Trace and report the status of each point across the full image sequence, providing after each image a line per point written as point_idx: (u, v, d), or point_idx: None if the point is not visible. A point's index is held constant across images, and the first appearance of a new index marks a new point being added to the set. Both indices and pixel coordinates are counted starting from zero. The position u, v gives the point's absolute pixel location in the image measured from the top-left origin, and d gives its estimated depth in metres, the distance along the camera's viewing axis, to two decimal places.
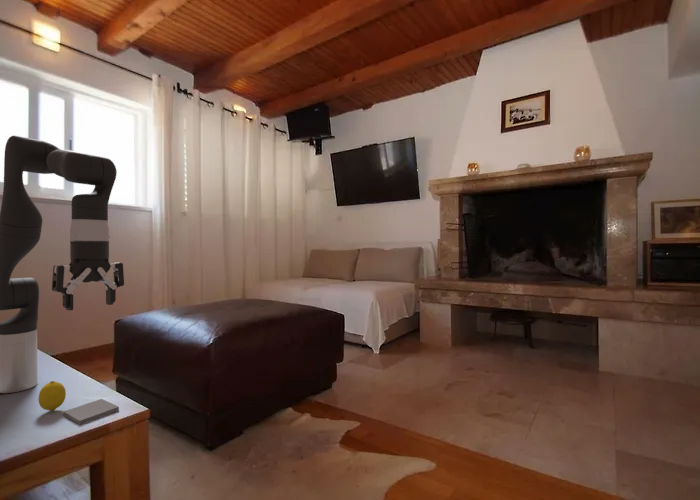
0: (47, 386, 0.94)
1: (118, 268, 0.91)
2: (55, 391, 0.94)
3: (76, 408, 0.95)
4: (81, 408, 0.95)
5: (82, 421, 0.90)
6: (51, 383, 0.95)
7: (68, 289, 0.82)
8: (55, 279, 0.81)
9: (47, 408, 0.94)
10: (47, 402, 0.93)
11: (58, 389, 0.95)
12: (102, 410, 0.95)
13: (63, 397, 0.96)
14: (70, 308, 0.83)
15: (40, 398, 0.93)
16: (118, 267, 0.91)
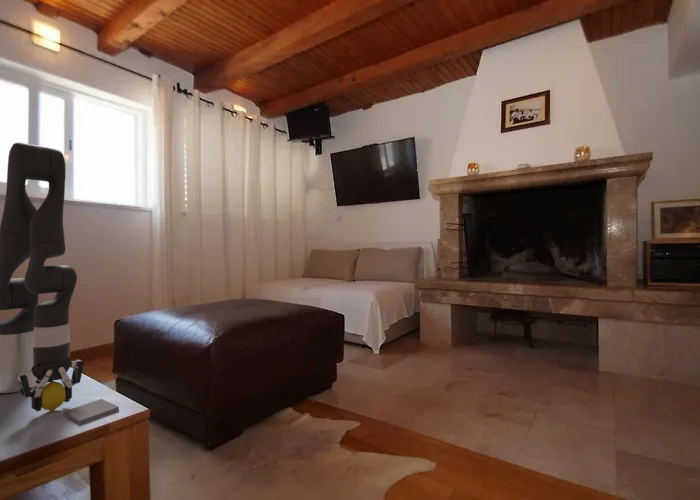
0: (47, 386, 0.94)
1: (78, 366, 1.00)
2: (55, 391, 0.94)
3: (76, 408, 0.95)
4: (81, 408, 0.95)
5: (82, 421, 0.90)
6: (51, 383, 0.95)
7: (36, 393, 0.92)
8: (21, 387, 0.90)
9: (47, 408, 0.94)
10: (47, 402, 0.93)
11: (58, 389, 0.95)
12: (102, 410, 0.95)
13: (63, 397, 0.96)
14: (38, 409, 0.92)
15: None
16: (78, 365, 1.00)
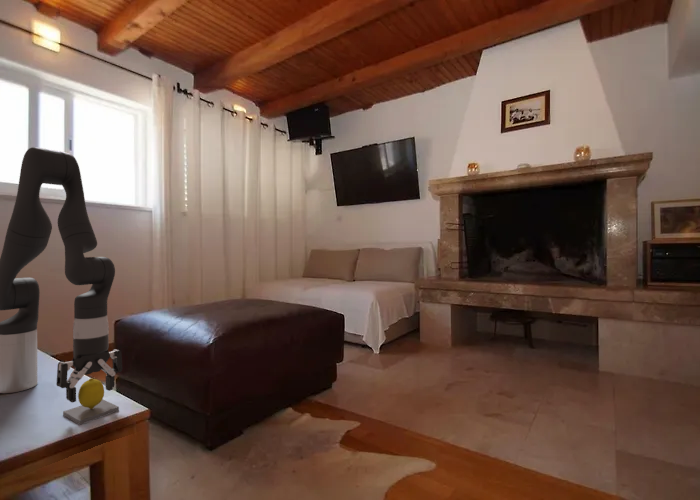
0: (87, 383, 0.94)
1: (117, 356, 0.99)
2: (95, 388, 0.94)
3: (76, 408, 0.95)
4: (81, 408, 0.95)
5: (82, 421, 0.90)
6: (90, 380, 0.95)
7: (71, 384, 0.90)
8: (59, 376, 0.89)
9: (87, 405, 0.93)
10: (87, 399, 0.93)
11: (97, 386, 0.94)
12: (102, 410, 0.95)
13: (102, 394, 0.96)
14: (73, 400, 0.91)
15: (80, 395, 0.93)
16: (117, 355, 0.99)
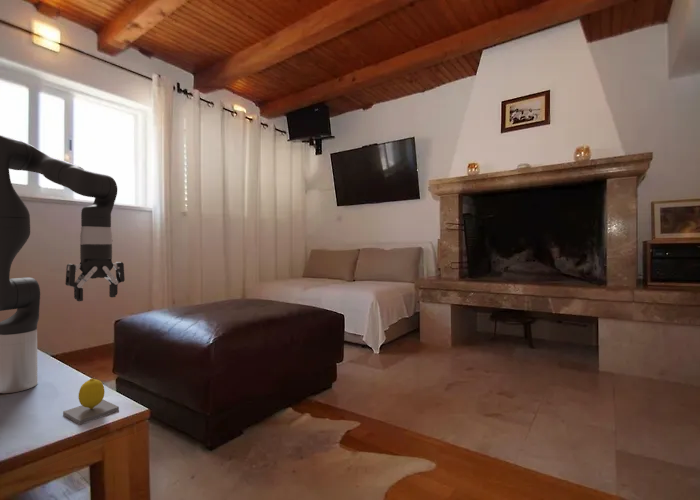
0: (87, 383, 0.94)
1: (119, 267, 1.09)
2: (96, 389, 0.94)
3: (76, 408, 0.95)
4: (81, 408, 0.95)
5: (82, 421, 0.90)
6: (91, 380, 0.94)
7: (79, 284, 1.00)
8: (68, 275, 0.99)
9: (87, 405, 0.93)
10: (88, 399, 0.93)
11: (98, 387, 0.94)
12: (102, 410, 0.95)
13: (102, 395, 0.96)
14: (80, 299, 1.01)
15: (81, 395, 0.93)
16: (119, 266, 1.09)
